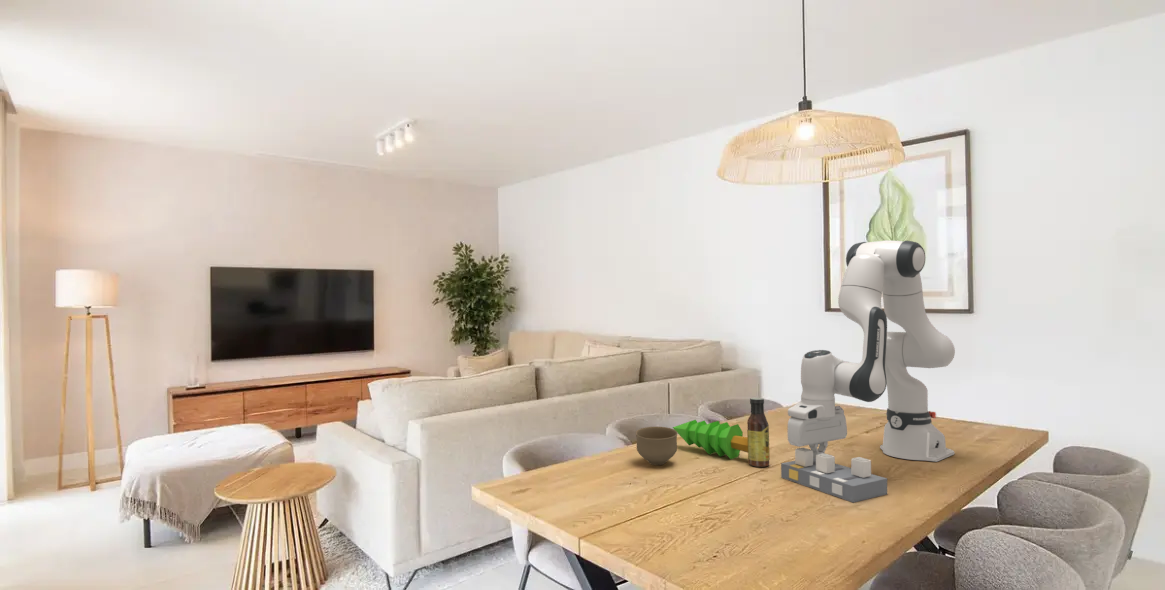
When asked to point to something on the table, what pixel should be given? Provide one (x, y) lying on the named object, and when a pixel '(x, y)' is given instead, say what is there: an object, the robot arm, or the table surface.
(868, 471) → the knob
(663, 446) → the bowl
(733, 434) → the decorative tree
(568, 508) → the table surface
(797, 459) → the knob
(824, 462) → the knob
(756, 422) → the sauce bottle
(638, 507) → the table surface
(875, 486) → the console
